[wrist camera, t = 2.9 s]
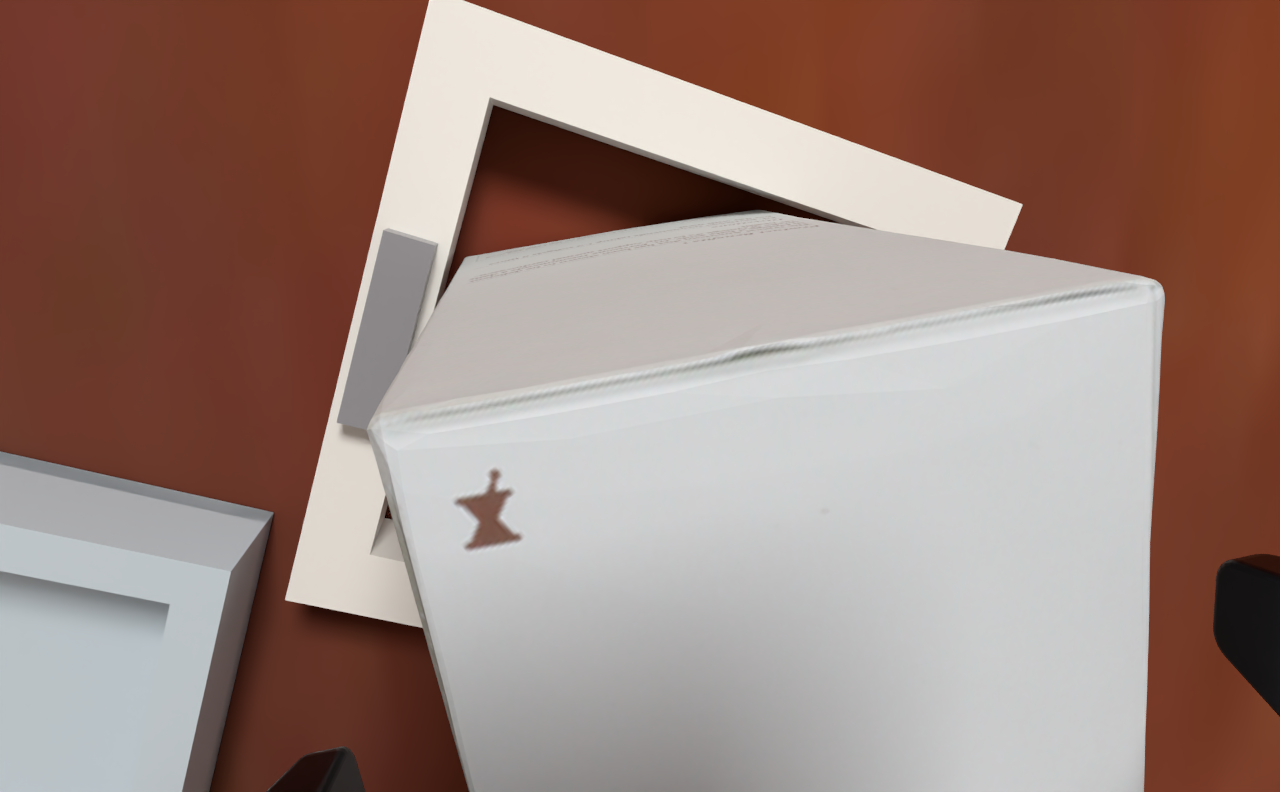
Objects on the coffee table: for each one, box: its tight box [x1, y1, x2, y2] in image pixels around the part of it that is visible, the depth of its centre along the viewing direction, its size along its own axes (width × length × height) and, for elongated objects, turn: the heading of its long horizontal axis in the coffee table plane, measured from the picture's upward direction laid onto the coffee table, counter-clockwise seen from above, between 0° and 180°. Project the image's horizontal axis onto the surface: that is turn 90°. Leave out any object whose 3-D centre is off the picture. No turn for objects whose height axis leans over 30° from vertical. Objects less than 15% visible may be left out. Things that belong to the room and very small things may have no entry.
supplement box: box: [367, 210, 1165, 792], centre depth 14 cm, size 7×7×13 cm
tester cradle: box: [285, 0, 1023, 628], centre depth 19 cm, size 13×13×3 cm
